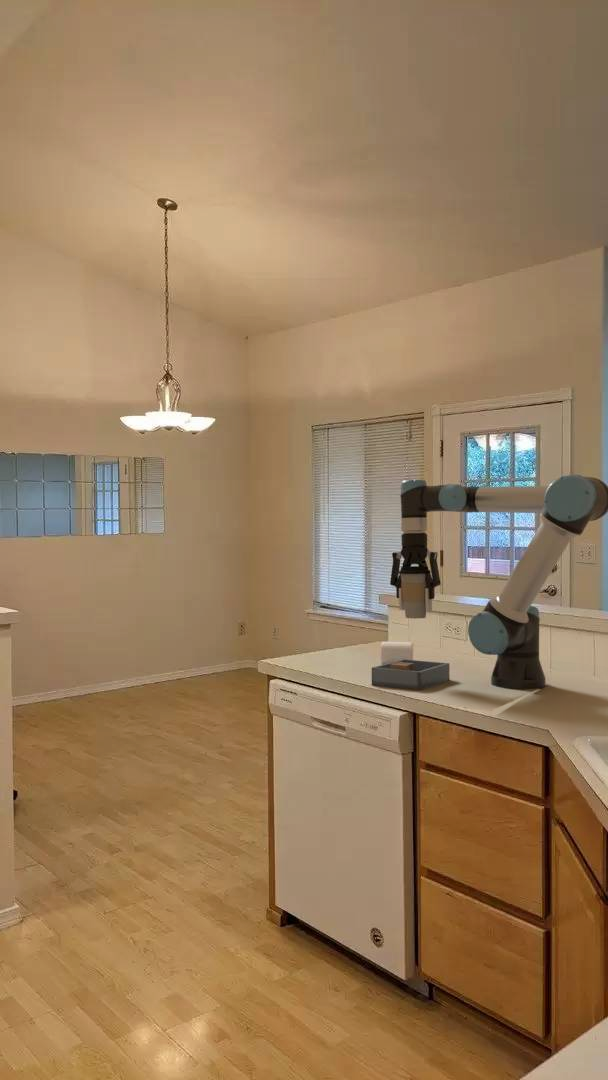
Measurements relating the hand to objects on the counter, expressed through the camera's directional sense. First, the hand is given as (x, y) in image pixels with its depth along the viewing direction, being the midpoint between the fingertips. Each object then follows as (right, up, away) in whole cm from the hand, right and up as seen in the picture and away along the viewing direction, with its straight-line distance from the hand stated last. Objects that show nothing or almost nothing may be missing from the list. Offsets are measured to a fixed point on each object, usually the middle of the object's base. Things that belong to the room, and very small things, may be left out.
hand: (415, 610), depth 251 cm
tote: (-2, -21, -3) cm, 21 cm away
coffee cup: (0, -2, 0) cm, 2 cm away
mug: (-2, -21, +31) cm, 37 cm away
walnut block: (-5, -20, -8) cm, 22 cm away
